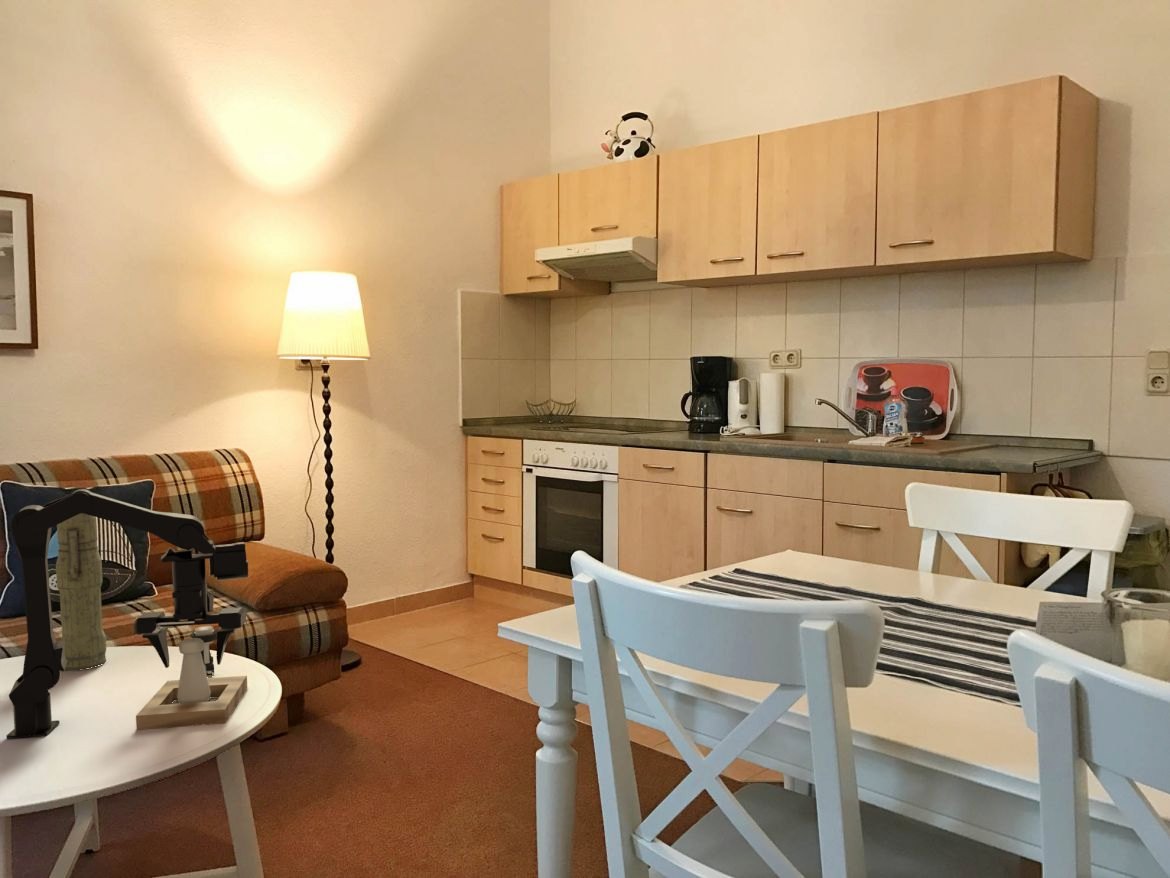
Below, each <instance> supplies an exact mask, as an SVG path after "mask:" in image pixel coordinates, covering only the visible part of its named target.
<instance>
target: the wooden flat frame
mask: <svg viewBox="0 0 1170 878" xmlns="http://www.w3.org/2000/svg"><path fill="white" fill-rule="evenodd" d="M207 679H208V683H209V687H210V691H211V695H210V697H219V698H217V700H216V701H215V700H214V701H208V702H198V703H183V704H180V703H174V702H175V701H174V700H177V701H178V699H177V694H178V687H179V681H180V679H175V680H167V681H166V682H165V683H164V684H163V685H162V686H161V688H159V690H157V692H156V693H155V694H154V695H153V696H152V697H151V698H150V700H148V702H147V703H146V704H145V705H144V706H143V708H141V709H140V710H139V712H137V714H136V715H135V722H136V723H135V725H136V726H135V727H136V730H137V731H138V730H149V729H161V728H177V727H187V726H188V727H190V726H192V725H193V726H202V724H206V725H218V724H226V723H227V722H228V720H229V719H230V717H231V715H232V714H231V713H233V712H234V710H235V709H234V708H236V707H237V705H238V704H239V702H240V701H239V700H241V699H242V697H243V696H244V694H245V693H246V691H247V689H248V676H247V675H237V676H236V675H235V676H222V677H220V676H219V677H211V678H207ZM244 692H245V693H244ZM242 695H243V696H242ZM173 701H174V702H173ZM172 702H173V703H172ZM237 703H238V704H237ZM229 716H230V717H229ZM226 721H227V722H226Z"/></svg>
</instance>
